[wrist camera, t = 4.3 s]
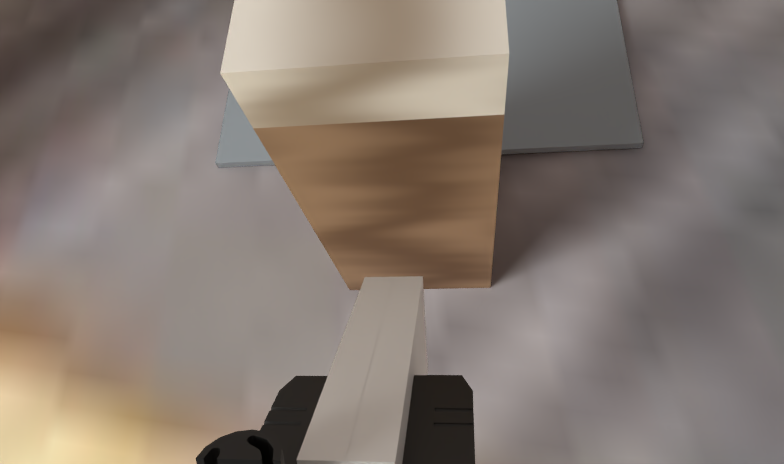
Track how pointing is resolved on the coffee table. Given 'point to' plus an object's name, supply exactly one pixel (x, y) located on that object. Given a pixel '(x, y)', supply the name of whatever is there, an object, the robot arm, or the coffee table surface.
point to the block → (381, 126)
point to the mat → (531, 85)
